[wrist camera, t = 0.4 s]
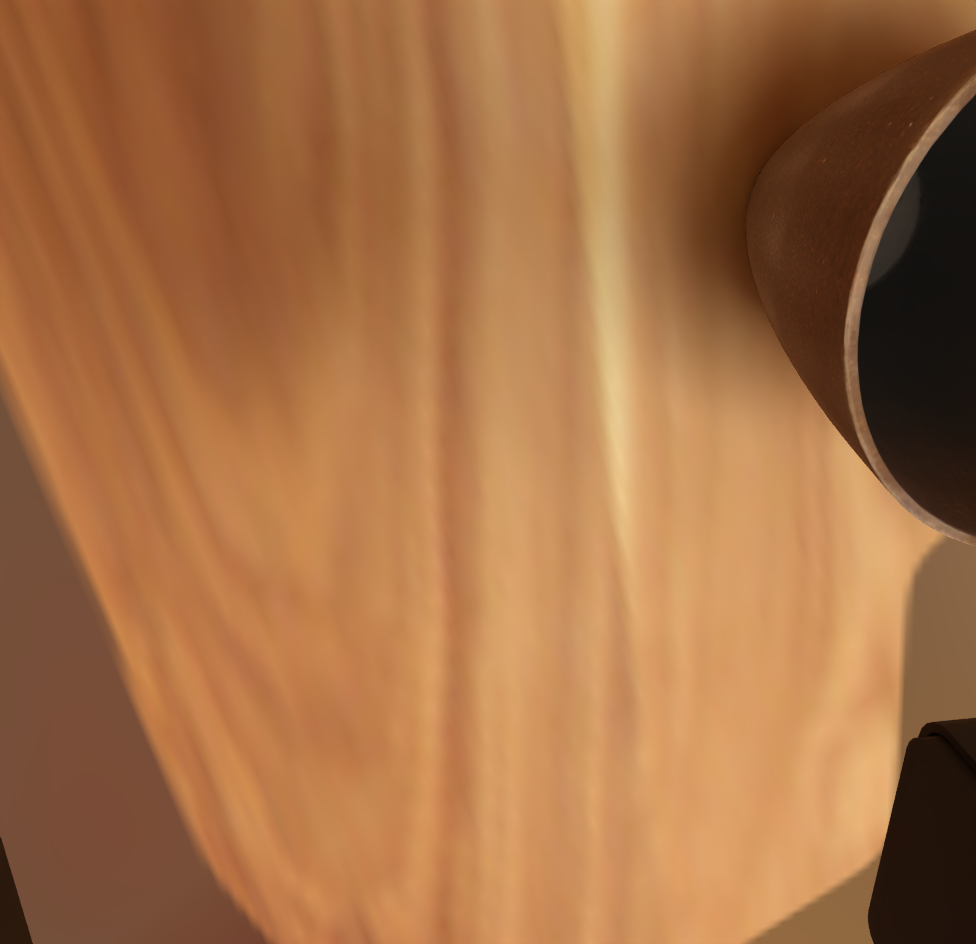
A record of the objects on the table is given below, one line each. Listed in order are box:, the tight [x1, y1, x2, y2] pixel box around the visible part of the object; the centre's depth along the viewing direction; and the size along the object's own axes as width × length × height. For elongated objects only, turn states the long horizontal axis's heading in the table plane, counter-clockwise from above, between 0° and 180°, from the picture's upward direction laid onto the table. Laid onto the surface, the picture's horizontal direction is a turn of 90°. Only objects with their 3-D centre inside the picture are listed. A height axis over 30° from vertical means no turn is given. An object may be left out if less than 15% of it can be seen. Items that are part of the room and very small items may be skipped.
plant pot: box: [745, 30, 976, 546], centre depth 30 cm, size 15×15×16 cm
